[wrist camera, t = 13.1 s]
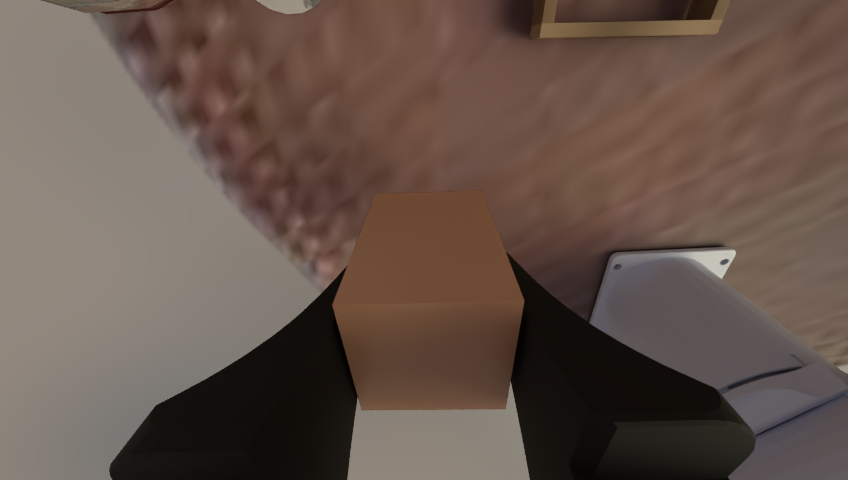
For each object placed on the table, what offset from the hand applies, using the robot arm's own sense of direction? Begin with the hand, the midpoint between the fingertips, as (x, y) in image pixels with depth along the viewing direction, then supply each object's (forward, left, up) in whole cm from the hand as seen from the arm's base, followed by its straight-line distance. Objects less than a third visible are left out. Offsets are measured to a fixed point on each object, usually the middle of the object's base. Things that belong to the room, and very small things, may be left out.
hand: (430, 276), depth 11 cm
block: (0, 0, -3) cm, 3 cm away
